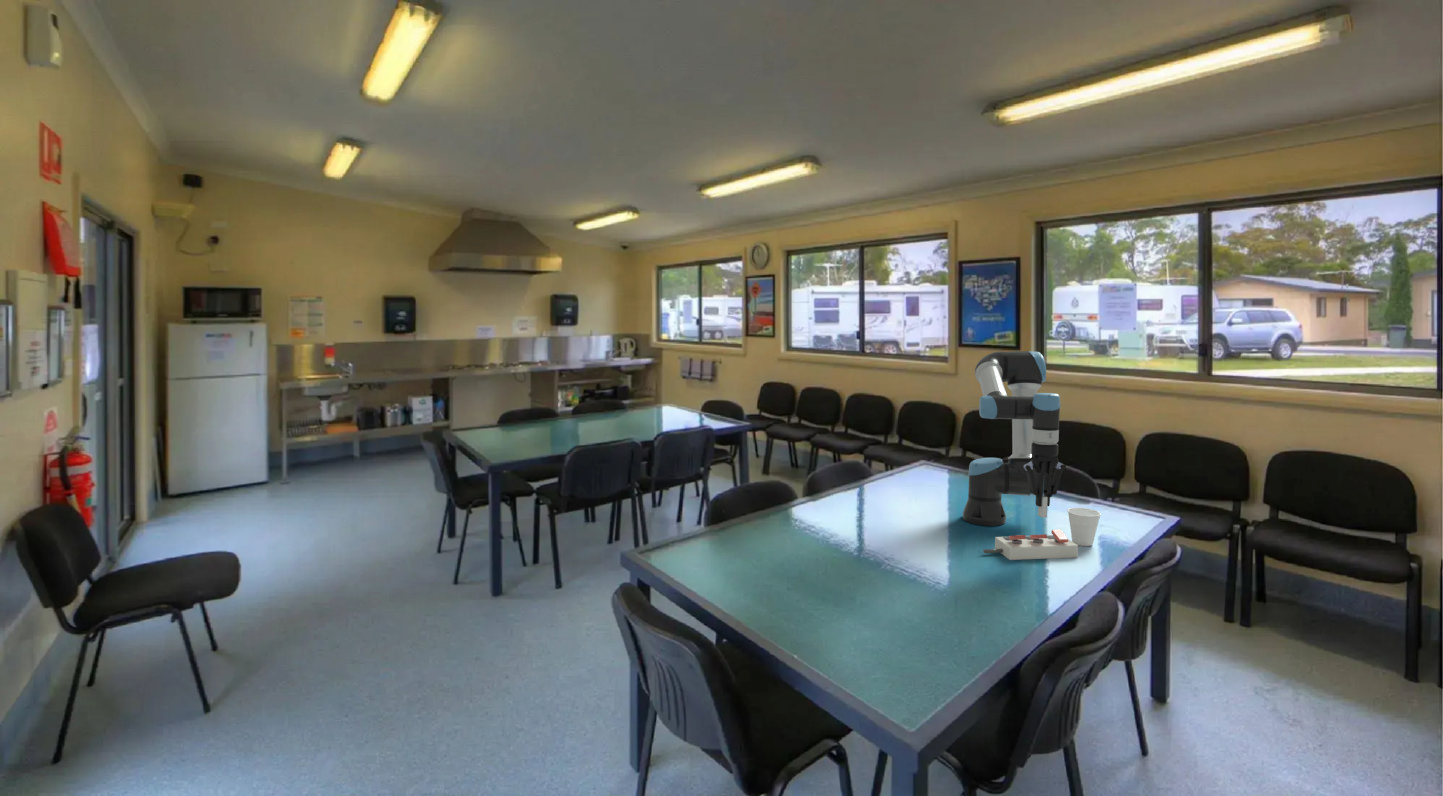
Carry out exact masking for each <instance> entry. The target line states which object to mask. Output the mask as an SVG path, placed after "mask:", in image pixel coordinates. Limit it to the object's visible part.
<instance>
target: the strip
mask: <svg viewBox="0 0 1443 796" xmlns="http://www.w3.org/2000/svg"><path fill="white" fill-rule="evenodd" d="M994 538H995V540H994V548H989V549H988V548H985V549H983V550H982V553H983V554H994V553H995V554H998V553H999V554H1001V555H1002V556H1004V557H1005V558H1007V559H1008V560H1009V561H1017V560H1020V561H1021V560H1042V559H1043V560H1044V559H1047V560H1048V559H1069V558H1070V559H1071V558H1078V553H1079V552H1078V550H1079V545H1077V544H1075V543H1073V542H1072V540H1070V539H1069V540H1068V542H1062V543H1059V542H1058V541H1057V539H1056V538H1055V537H1054V535H1053V534H1047V538H1042V539H1031V538H1030V535H1025V539H1013V540H1009V536H995V537H994Z"/></svg>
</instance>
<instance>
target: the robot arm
mask: <svg viewBox="0 0 1443 796" xmlns="http://www.w3.org/2000/svg"><path fill="white" fill-rule="evenodd" d="M974 377H975V379H976V382H978V383H979V384H980V389H981V393H982V396H981V397H980V398H979V402H978V403H979V404H978V405H979V406H978V411H979V416H980V418H982V419H990V420H998V419H1000V420H1011V425H1012V429H1011V430H1012V436H1011V438H1012V451H1011V452H1012V454H1011V455H1010V456H1008V457H1007V462H1004V460H1003V459H1002V458H999V457H982V458H976V459H974V460H972V461H971V462H970V463H969V465H968V472H967V474H968V486H967V487H968V490H967V491H968V493H967V501H966V503H965V505H964V508H963V511H962V520H964V521H965V522H967V523H969V524H973V525H978V526H986V527H987V526H988V527H991V526H994V527H995V526H1001V525H1005V523H1006V522H1007V515H1006V512H1005V509H1004V506H1003V502H1002V497H1003V496H1002V495H1011V496H1012V495H1014V496H1028V497H1031V496H1032V497H1033V496H1035V505H1036V506H1037V516H1039V517H1040V518H1043V519H1044V518H1048V517H1047V516H1048V507H1050V505H1051V504H1050V503H1051V498H1052V497H1053V495H1057V493H1058V489H1059V486H1060V482H1061V478H1062V475H1063V472H1065V469H1066V464H1063V463H1061V462H1059V461H1060V460H1059V458H1058V455H1059V444H1058V442H1059V439H1060V438H1059V434H1060V411H1061V409H1060V408H1061V406H1062V405H1061V397H1060V395H1059V394H1058V393H1054V392H1053V393H1052V392H1038V391H1039V389H1040V388H1041V387H1042V384H1043V383H1045V382H1046V380H1047V366H1046V361H1045V357H1044V356H1043V354H1042V353H1041V352H1039V351H1030V350H1026V351H1025V350H1023V351H1022V350H1021V351H1019V350H1018V351H1001V350H1000V351H994V352H992V353H989V354H987V355H984V356H983V357H982V358H981V359H980V360H979V361H978V362H977V364H976V365H975V368H974ZM1004 383H1007V388H1008V389H1009V390H1010V391H1011V395H1009V396H1008V394H1007V391H1006V388H1005V384H1004Z"/></svg>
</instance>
